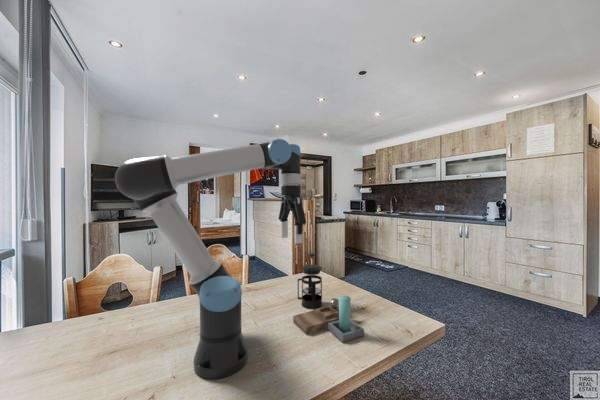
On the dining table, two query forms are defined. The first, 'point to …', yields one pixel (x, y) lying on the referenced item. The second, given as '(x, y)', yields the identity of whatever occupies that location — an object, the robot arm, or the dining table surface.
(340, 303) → the dowel
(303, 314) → the brown flat block
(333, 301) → the bench dogs
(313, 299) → the french press
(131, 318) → the dining table surface
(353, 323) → the tray
